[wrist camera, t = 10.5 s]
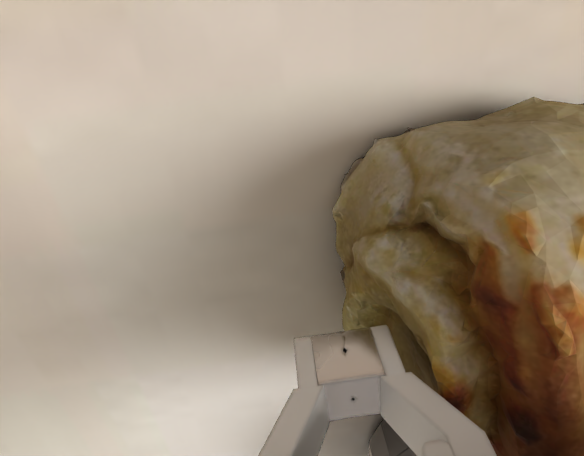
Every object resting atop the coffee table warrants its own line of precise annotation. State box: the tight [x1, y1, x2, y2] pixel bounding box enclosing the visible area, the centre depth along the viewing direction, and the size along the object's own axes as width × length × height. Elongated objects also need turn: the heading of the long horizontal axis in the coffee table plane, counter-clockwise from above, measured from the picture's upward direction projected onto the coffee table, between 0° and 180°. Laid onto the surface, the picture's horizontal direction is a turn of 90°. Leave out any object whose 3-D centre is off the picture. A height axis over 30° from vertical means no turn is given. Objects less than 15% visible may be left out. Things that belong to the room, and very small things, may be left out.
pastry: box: [332, 97, 584, 456], centre depth 12 cm, size 14×12×8 cm
